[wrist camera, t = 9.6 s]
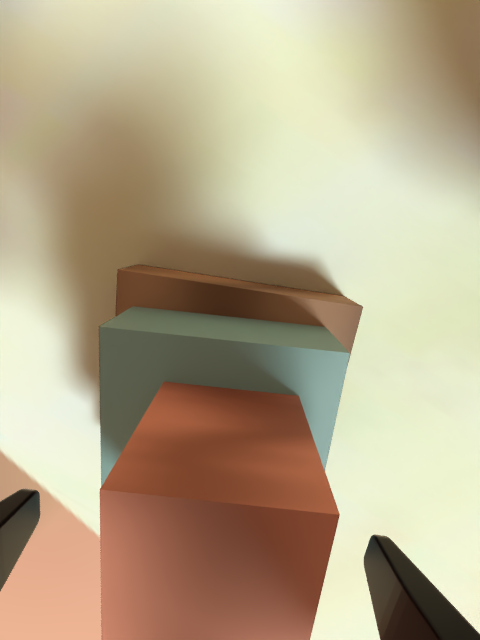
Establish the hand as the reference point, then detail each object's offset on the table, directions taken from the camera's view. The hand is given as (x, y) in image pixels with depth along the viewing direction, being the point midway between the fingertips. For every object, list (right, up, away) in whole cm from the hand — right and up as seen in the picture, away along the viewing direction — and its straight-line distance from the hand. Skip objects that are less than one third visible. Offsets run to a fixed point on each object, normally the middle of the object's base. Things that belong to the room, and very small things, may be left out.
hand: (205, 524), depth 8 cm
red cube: (0, +1, +2) cm, 3 cm away
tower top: (0, +2, +5) cm, 6 cm away
